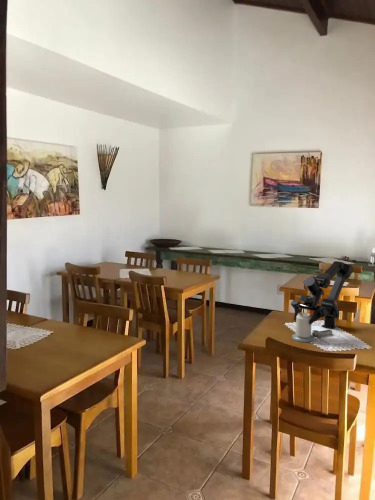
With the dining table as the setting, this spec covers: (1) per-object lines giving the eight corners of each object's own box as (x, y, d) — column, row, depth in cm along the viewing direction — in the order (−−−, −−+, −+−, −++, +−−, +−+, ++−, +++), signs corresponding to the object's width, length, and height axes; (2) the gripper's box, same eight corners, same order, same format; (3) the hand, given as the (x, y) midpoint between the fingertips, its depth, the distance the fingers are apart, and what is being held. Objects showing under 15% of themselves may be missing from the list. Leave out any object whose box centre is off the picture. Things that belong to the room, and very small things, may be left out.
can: (296, 333, 215) (297, 311, 214) (311, 334, 213) (312, 312, 211) (295, 338, 209) (295, 315, 207) (310, 339, 206) (311, 316, 204)
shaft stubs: (299, 326, 228) (299, 321, 228) (333, 334, 216) (333, 328, 215) (290, 331, 221) (290, 326, 220) (324, 339, 208) (324, 334, 208)
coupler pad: (298, 333, 218) (298, 331, 218) (317, 337, 211) (317, 335, 211) (288, 338, 210) (288, 337, 210) (308, 344, 203) (308, 342, 203)
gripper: (292, 285, 217) (280, 310, 211) (325, 291, 203) (312, 317, 197) (301, 297, 223) (288, 321, 217) (332, 303, 209) (320, 329, 203)
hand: (302, 322), depth 209 cm, fingers open, 8 cm apart
